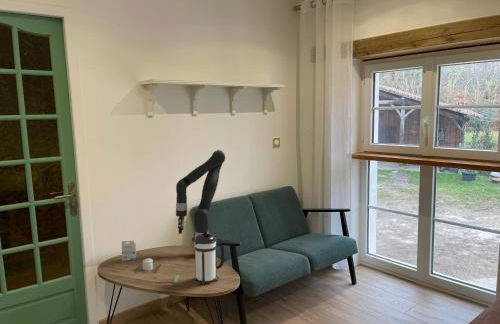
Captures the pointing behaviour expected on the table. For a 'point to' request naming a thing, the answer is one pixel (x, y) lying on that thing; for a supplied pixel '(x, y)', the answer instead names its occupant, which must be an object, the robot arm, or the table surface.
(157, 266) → the post base
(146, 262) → the cap
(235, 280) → the table surface
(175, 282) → the sage mat
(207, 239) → the coffee press
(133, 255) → the ink box
